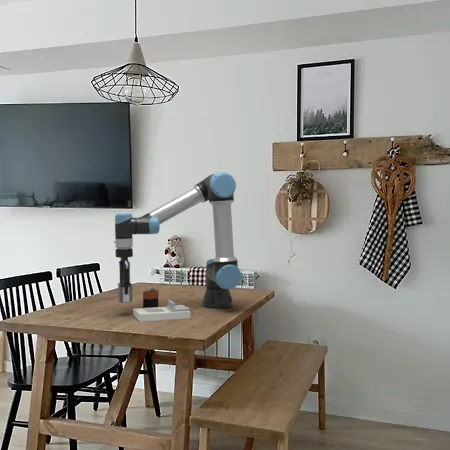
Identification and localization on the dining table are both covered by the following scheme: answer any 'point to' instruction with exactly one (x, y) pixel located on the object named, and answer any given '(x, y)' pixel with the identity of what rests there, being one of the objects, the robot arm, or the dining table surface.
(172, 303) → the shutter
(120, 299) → the plug
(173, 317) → the faceplate
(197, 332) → the dining table surface
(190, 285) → the dining table surface
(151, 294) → the battery
